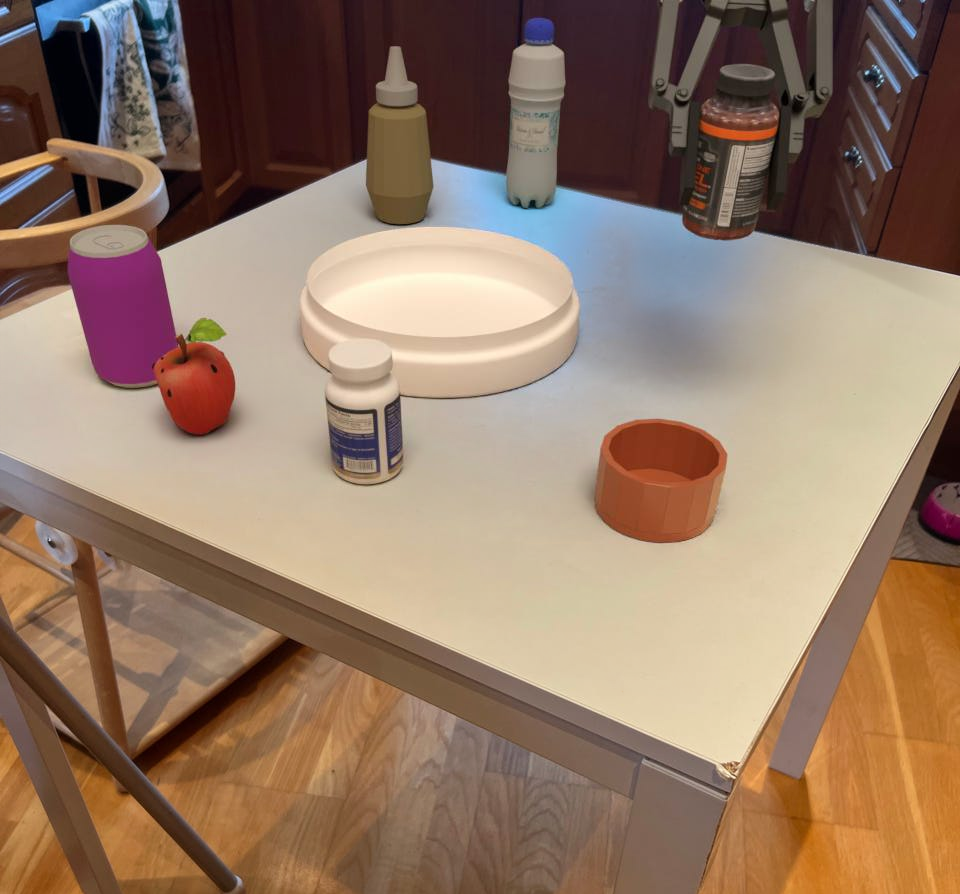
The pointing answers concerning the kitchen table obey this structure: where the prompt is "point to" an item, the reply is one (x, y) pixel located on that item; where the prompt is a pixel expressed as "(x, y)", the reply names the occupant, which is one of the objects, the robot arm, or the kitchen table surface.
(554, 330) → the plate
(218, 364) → the apple
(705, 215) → the supplement bottle
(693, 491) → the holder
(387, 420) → the pill bottle
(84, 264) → the beverage can
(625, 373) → the kitchen table surface
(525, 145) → the bottle
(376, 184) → the squeeze bottle
